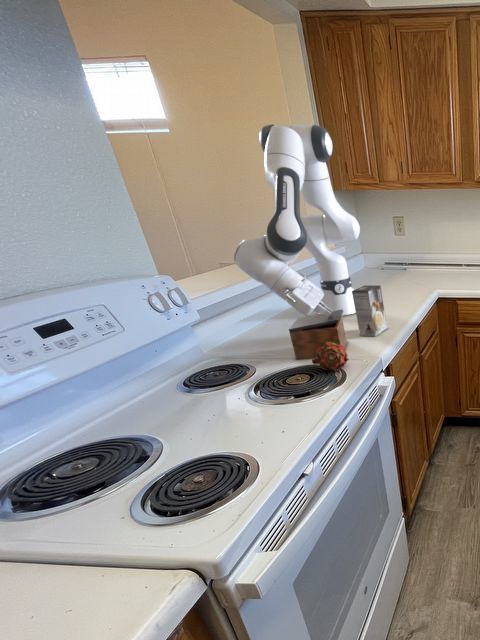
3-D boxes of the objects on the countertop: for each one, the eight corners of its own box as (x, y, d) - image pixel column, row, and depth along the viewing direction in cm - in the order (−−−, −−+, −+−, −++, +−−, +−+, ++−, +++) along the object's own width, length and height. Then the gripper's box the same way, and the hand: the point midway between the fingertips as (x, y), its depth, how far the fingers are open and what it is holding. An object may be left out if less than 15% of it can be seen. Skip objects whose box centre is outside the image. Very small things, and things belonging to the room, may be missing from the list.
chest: (346, 341, 141) (342, 316, 138) (342, 354, 130) (337, 327, 126) (304, 345, 139) (298, 320, 135) (296, 359, 128) (289, 332, 124)
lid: (343, 311, 137) (342, 309, 137) (338, 322, 126) (337, 319, 126) (298, 320, 135) (297, 318, 135) (289, 331, 124) (288, 329, 124)
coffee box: (371, 327, 155) (364, 284, 148) (387, 328, 154) (381, 285, 147) (359, 335, 147) (351, 290, 140) (376, 336, 145) (368, 291, 139)
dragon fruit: (343, 380, 116) (325, 375, 124) (361, 356, 119) (342, 352, 127) (318, 362, 110) (301, 358, 118) (338, 337, 113) (320, 335, 121)
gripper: (287, 284, 115) (331, 315, 121) (302, 271, 133) (340, 299, 139) (274, 301, 116) (318, 331, 122) (291, 286, 134) (329, 313, 140)
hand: (330, 314), depth 131 cm, fingers closed
